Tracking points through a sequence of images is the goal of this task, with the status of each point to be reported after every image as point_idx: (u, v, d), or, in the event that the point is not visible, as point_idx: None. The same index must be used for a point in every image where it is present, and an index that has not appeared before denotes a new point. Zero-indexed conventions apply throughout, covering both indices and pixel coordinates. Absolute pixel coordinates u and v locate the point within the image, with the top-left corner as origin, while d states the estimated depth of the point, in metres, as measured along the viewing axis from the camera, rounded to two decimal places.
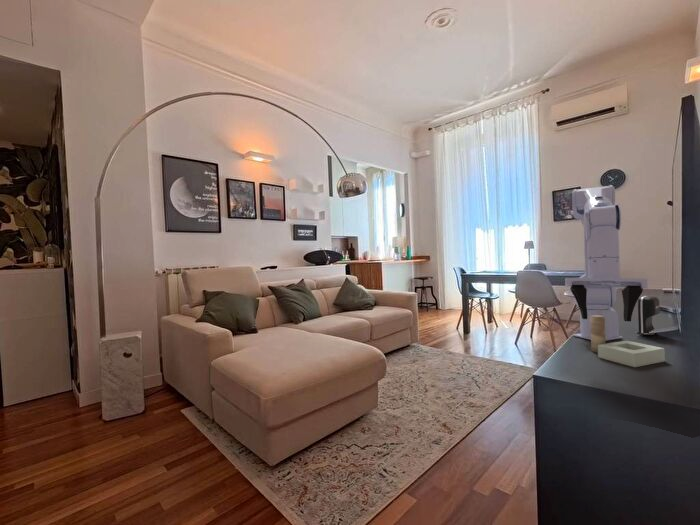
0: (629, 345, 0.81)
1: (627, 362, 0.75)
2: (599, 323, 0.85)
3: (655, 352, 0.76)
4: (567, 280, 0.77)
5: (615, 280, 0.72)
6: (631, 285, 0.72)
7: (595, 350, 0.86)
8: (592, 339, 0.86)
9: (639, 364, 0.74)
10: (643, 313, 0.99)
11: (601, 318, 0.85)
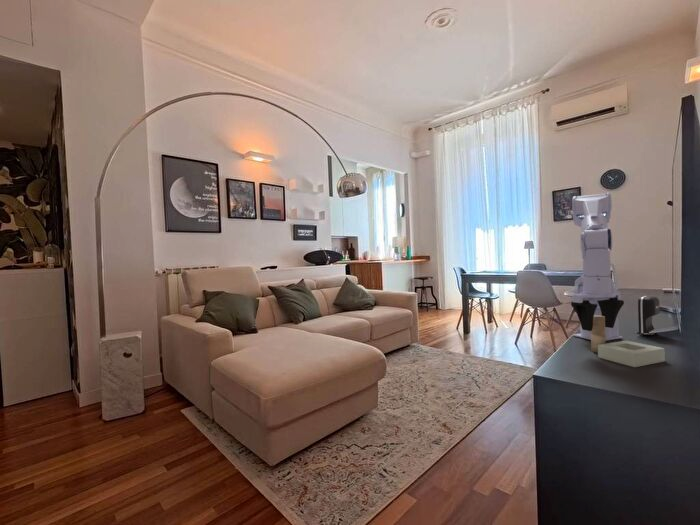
0: (629, 345, 0.81)
1: (627, 362, 0.75)
2: (599, 323, 0.85)
3: (655, 352, 0.76)
4: (580, 297, 0.83)
5: None
6: (612, 297, 0.87)
7: (595, 350, 0.86)
8: (592, 339, 0.86)
9: (639, 364, 0.74)
10: (643, 313, 0.99)
11: (601, 318, 0.85)
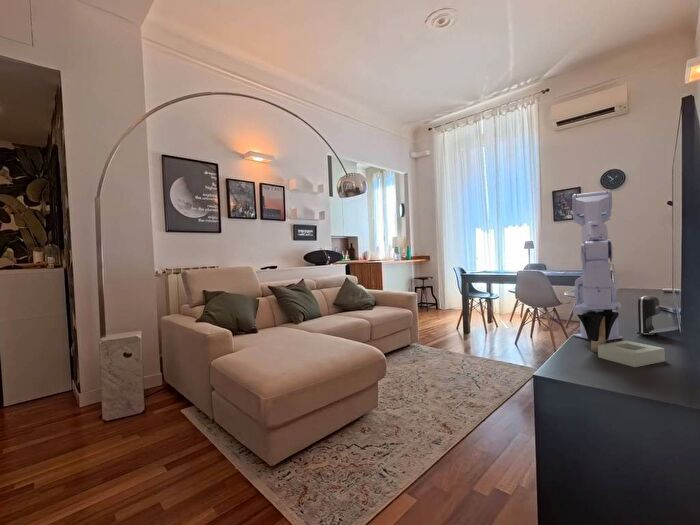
0: (629, 345, 0.81)
1: (627, 362, 0.75)
2: None
3: (655, 352, 0.76)
4: (580, 309, 0.83)
5: None
6: (612, 308, 0.87)
7: (595, 350, 0.86)
8: None
9: (639, 364, 0.74)
10: (643, 313, 0.99)
11: None
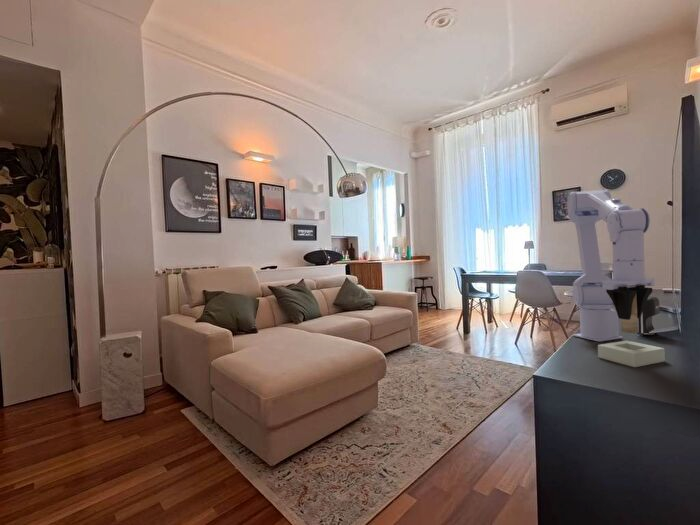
0: (629, 345, 0.81)
1: (627, 362, 0.75)
2: None
3: (655, 352, 0.76)
4: (611, 284, 0.76)
5: None
6: (644, 284, 0.80)
7: (627, 330, 0.78)
8: None
9: (639, 364, 0.74)
10: (643, 313, 0.99)
11: None
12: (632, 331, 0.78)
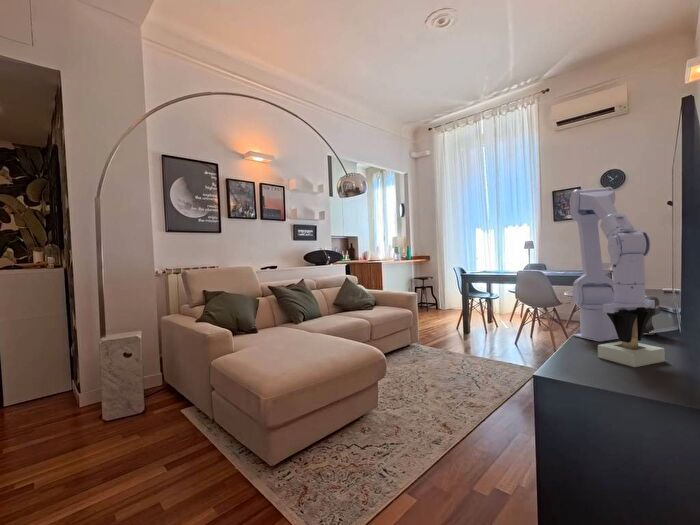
0: None
1: (627, 362, 0.75)
2: None
3: (655, 352, 0.76)
4: (612, 307, 0.76)
5: None
6: (645, 306, 0.80)
7: None
8: None
9: (639, 364, 0.74)
10: None
11: None
12: None
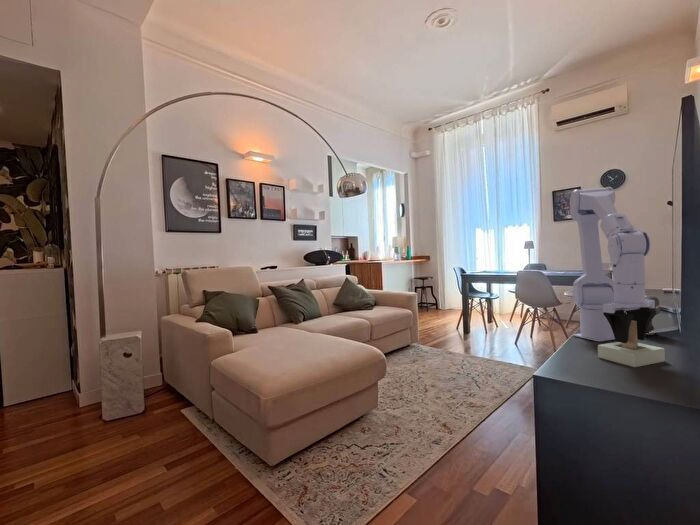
0: None
1: (627, 362, 0.75)
2: (630, 329, 0.78)
3: (655, 352, 0.76)
4: (612, 307, 0.76)
5: None
6: (645, 306, 0.80)
7: None
8: (623, 346, 0.79)
9: (639, 364, 0.74)
10: None
11: (633, 323, 0.78)
12: None
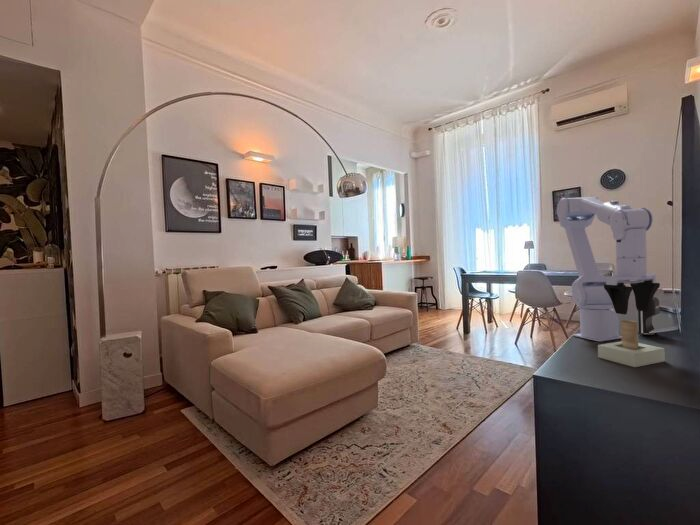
0: None
1: (627, 362, 0.75)
2: (631, 329, 0.78)
3: (655, 352, 0.76)
4: (615, 279, 0.80)
5: None
6: (646, 280, 0.84)
7: None
8: (623, 346, 0.79)
9: (639, 364, 0.74)
10: (643, 313, 0.99)
11: (634, 323, 0.78)
12: None
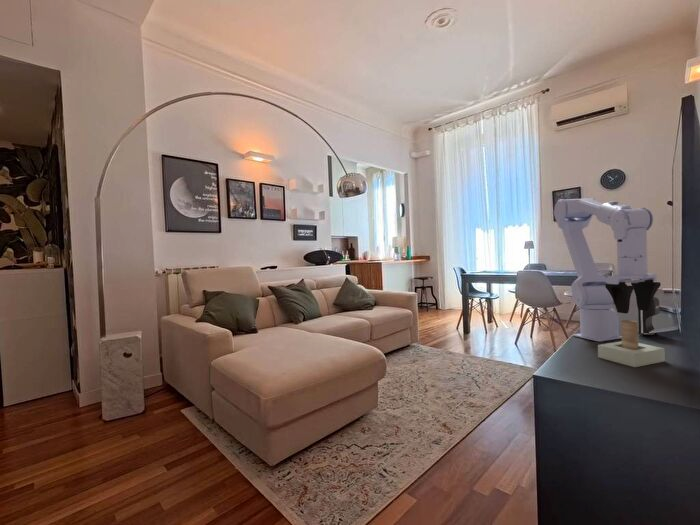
0: None
1: (627, 362, 0.75)
2: (632, 329, 0.78)
3: (655, 352, 0.76)
4: (616, 278, 0.80)
5: None
6: (647, 279, 0.84)
7: None
8: (623, 346, 0.79)
9: (639, 364, 0.74)
10: (643, 313, 0.99)
11: (634, 323, 0.78)
12: None
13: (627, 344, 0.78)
